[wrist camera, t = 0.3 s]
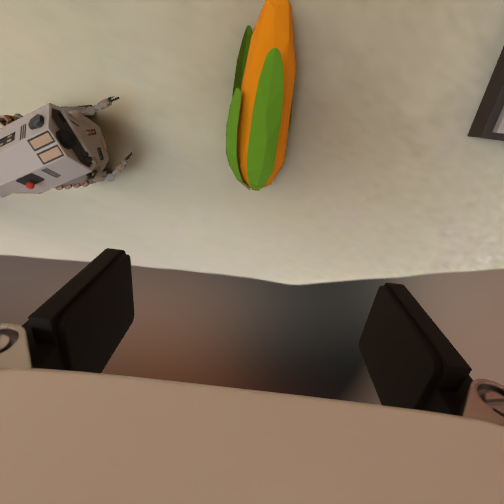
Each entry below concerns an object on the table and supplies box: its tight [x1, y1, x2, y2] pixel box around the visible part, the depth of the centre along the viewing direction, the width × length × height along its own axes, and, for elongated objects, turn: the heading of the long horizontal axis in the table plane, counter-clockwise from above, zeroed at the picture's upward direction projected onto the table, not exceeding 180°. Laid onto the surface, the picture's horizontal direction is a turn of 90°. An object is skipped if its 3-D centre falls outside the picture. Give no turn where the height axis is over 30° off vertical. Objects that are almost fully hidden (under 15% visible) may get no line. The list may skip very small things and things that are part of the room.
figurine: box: [0, 96, 132, 197], centre depth 32 cm, size 9×12×15 cm
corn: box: [226, 0, 296, 191], centre depth 32 cm, size 7×8×20 cm
